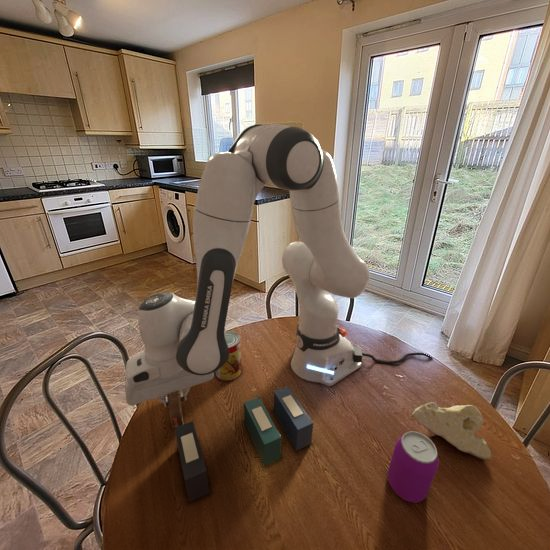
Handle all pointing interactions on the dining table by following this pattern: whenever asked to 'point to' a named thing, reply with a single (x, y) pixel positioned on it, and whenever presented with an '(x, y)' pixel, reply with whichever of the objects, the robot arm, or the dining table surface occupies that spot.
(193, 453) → the block
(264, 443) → the block
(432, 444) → the beverage can
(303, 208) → the robot arm
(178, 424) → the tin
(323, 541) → the dining table surface
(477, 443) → the cheese
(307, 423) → the block
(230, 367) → the canned food
